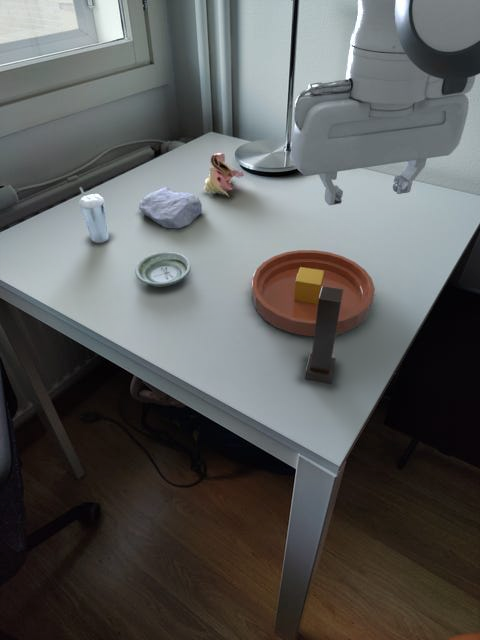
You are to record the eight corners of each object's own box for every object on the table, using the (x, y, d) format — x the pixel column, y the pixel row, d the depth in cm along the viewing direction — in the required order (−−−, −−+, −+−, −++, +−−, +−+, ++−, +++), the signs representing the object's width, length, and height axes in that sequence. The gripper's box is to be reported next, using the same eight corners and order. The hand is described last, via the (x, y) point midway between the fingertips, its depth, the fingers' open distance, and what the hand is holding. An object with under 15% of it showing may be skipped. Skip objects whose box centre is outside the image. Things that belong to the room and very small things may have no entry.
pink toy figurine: (211, 206, 103) (188, 168, 102) (222, 206, 112) (201, 172, 112) (246, 182, 100) (222, 144, 99) (253, 185, 110) (232, 150, 109)
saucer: (127, 275, 83) (125, 264, 81) (173, 256, 87) (172, 245, 85) (154, 302, 77) (152, 290, 75) (202, 280, 81) (201, 269, 80)
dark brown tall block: (334, 365, 66) (348, 287, 56) (330, 384, 63) (344, 305, 54) (309, 360, 66) (318, 282, 57) (304, 379, 64) (313, 300, 54)
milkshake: (102, 229, 95) (90, 183, 88) (116, 238, 92) (106, 192, 85) (82, 237, 93) (69, 191, 86) (96, 247, 90) (84, 200, 83)
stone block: (179, 239, 95) (206, 210, 100) (173, 220, 91) (201, 191, 96) (136, 225, 100) (164, 199, 105) (129, 207, 96) (158, 181, 101)
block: (321, 289, 78) (324, 270, 75) (318, 304, 75) (320, 284, 72) (298, 286, 79) (300, 266, 76) (293, 300, 76) (295, 280, 73)
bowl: (375, 274, 82) (378, 259, 80) (365, 349, 68) (369, 333, 66) (267, 258, 86) (268, 243, 84) (237, 326, 72) (237, 310, 70)
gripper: (308, 93, 44) (299, 222, 53) (490, 73, 48) (452, 196, 57) (285, 77, 49) (280, 198, 58) (453, 60, 53) (423, 175, 62)
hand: (367, 197), depth 58 cm, fingers open, 8 cm apart
